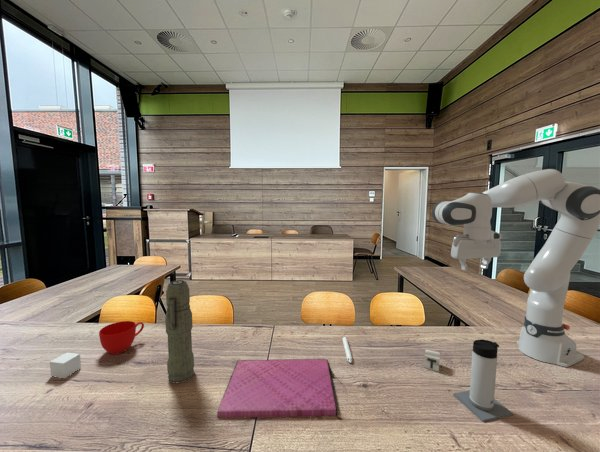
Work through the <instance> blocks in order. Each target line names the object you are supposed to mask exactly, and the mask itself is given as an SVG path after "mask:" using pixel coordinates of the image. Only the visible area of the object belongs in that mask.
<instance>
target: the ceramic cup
mask: <svg viewBox="0 0 600 452" xmlns="http://www.w3.org/2000/svg"><path fill="white" fill-rule="evenodd" d="M139 325H141V327H140V329H139V330H138V331H137V332H136V330H137V327H138V326H139ZM144 327H145V324H144V323H143V322H141V321H138V322H137V323H136V322H135V321H131V320H124V321H117V322H113V323H110V324H108V325H106V326H103V327H102V328H101V329H100V330H99V331H98V335H99V336H98V337H99V341H100V344H101V347H102V348H103V349H104V351H106V352H107V353H109V354H110V353H111V354H110V355H119V354H118V353H120V354H122V353H121V352H123V353H125V352H126V351H127V349H128V350H129V348H130V347H131V346H132V345H133V343H134V341H135V338H136V337H137V336H138V335H139V334H140V333H141V332H142V331H143V329H144ZM125 350H126V351H125ZM124 351H125V352H124Z"/></svg>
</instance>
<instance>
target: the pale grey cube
mask: <svg viewBox="0 0 600 452" xmlns="http://www.w3.org/2000/svg"><path fill="white" fill-rule="evenodd" d="M81 362H82V361H81V354H80V353H74V352H65V353H63V354H61V355H59V356H57V357H56V358H54V359H52V360H50V361H49V368H50V369H49V370H50V377H51V376H56V377H61V378H66V377H67V376H69V375H70V374H72V373H74V372H75V371H77V370H78V369H80V368H81V369H82V363H81ZM81 369H80V370H81ZM78 371H79V370H78ZM78 371H77V372H78ZM75 373H76V372H75ZM75 373H74V374H75ZM72 375H73V374H72ZM70 376H71V375H70ZM70 376H69V377H70ZM61 378H60V379H61ZM67 378H68V377H67ZM67 378H66V379H67Z"/></svg>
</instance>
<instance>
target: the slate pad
mask: <svg viewBox="0 0 600 452" xmlns="http://www.w3.org/2000/svg"><path fill="white" fill-rule="evenodd" d="M452 396H453V397H454V398H456V399H457V400H458V401H459V402H460V403H461V404H463V406H465V407H466V409H468V410H469V411H470V412H471V413H472V414H473V415H475V417H476V418H478V419H479V420H480V421H481V422H483V423H484V422H489V421H493V420H498V419H502V418H507V417H511V416H514V413H513V412H512V411H511V410H509V409H508V408H507V407H506V406H504V404H501V402H499V401H498V400H497V399H495V398H494V407H493V410H491V411H484V410H481V409H478V408H477V407H475V406H474V405H473V404H472V403H471V402H470V400H469V396H470V389H469V390H464V391H459V392H455V393H452Z"/></svg>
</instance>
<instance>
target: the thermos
mask: <svg viewBox="0 0 600 452" xmlns="http://www.w3.org/2000/svg"><path fill="white" fill-rule="evenodd" d="M165 290H166V291H165V296H166V299H165V300H166V306H167V307H166V313H165V318H164V319H165V321H164V322H165V333H166V335H167V348H168V349H167V350H168V351H167V353H168V354H167V355H168V359H167V362H166V366H167V375H168V377H167V379H169V380H168V382H170V381H171V382H170V383H172V382H175V383H174V384H177V383H176V382H181V383H183V382H182V381H184V382H186V381H188V380H189V378H190V379H191V378H192V377H193V376H194V373H195V371H194V367H195V355H194V353H193V342H192V341H193V339H192V329H193V327H194V326H193V312H192V309H191V305H190V299H191V298H190V287H189V285H188V282H187V281H186V280H183V279H182V280H180V279H178V280H173V281H170V282H169V283H168V284H167V286H166V289H165ZM185 380H186V381H185Z"/></svg>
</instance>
